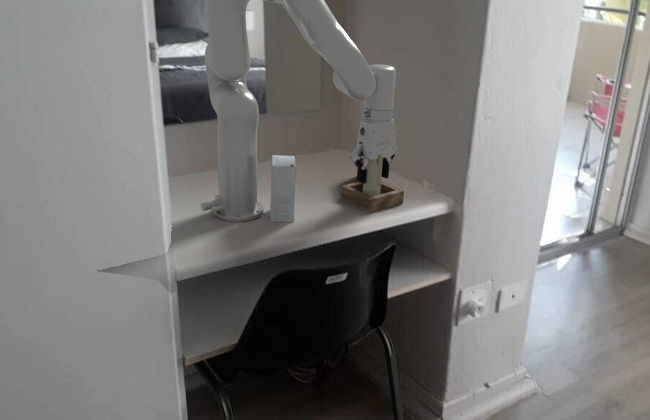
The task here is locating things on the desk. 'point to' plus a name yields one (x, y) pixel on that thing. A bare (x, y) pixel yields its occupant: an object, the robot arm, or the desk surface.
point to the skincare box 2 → (373, 177)
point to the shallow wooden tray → (385, 199)
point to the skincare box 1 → (283, 188)
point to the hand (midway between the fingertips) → (372, 179)
